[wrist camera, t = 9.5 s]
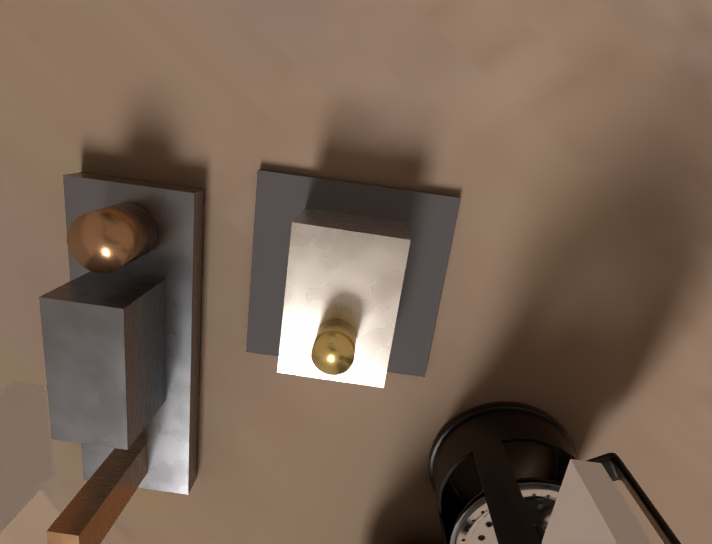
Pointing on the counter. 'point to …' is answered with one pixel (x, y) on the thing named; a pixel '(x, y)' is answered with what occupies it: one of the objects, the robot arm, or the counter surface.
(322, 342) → the white box with knob
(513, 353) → the counter surface
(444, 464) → the french press
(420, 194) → the mat
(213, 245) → the counter surface
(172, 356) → the grey stand
